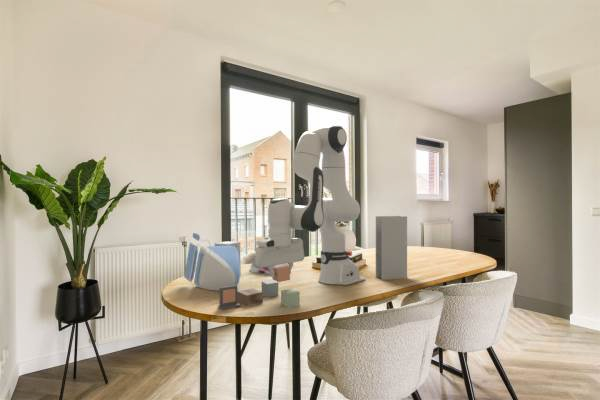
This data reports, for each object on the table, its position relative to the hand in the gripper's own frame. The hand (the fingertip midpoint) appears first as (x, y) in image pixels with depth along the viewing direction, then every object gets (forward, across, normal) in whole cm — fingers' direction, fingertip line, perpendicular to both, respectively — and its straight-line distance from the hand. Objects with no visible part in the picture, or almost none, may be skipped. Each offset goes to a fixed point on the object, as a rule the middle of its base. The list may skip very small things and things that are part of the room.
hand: (281, 275), depth 131 cm
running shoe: (+11, -17, -44) cm, 49 cm away
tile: (+8, +21, 0) cm, 23 cm away
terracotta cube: (+2, 0, 0) cm, 2 cm away
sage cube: (+9, +1, +8) cm, 12 cm away
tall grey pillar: (+12, -62, -1) cm, 63 cm away
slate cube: (+9, +1, -8) cm, 12 cm away
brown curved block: (+9, +12, -2) cm, 15 cm away
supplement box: (+10, +4, -48) cm, 49 cm away
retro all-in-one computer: (+9, +15, -30) cm, 35 cm away
